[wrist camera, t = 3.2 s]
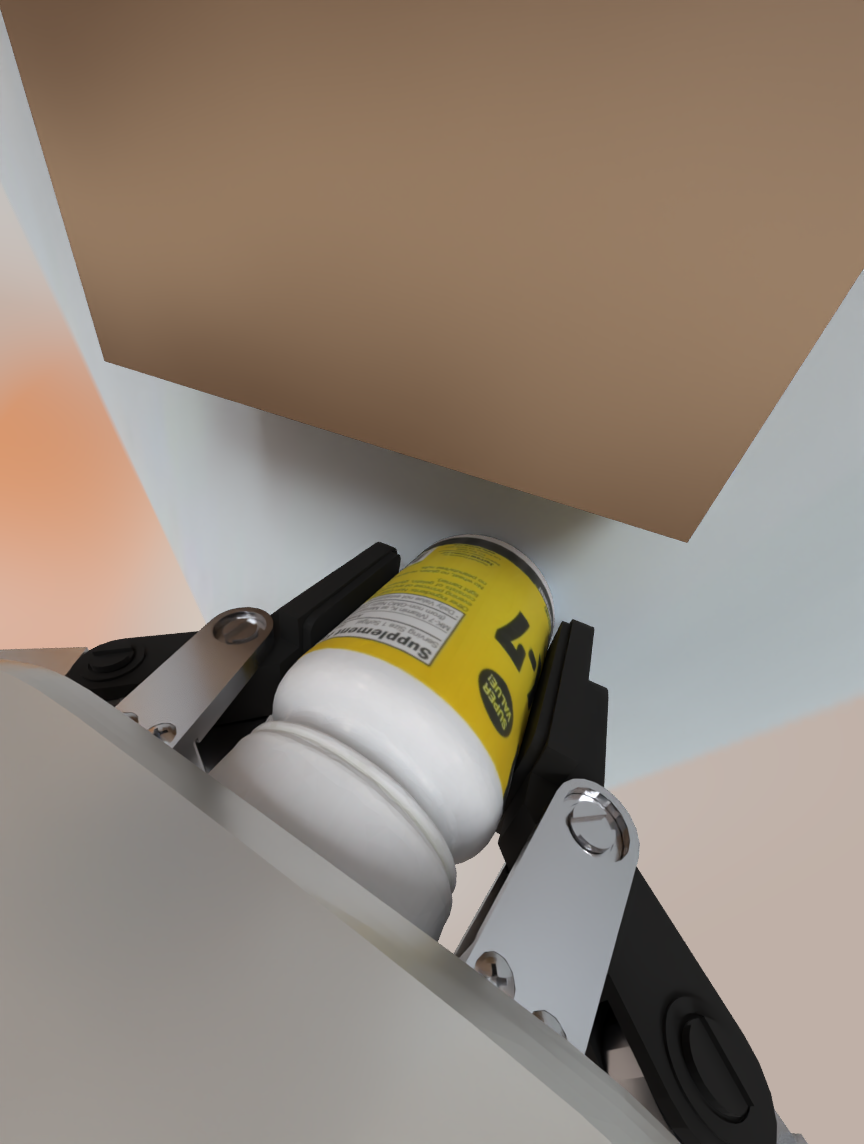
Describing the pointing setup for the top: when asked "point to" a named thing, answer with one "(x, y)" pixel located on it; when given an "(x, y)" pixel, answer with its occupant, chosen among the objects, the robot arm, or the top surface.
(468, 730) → the supplement bottle
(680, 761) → the top surface
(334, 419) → the walnut stand
